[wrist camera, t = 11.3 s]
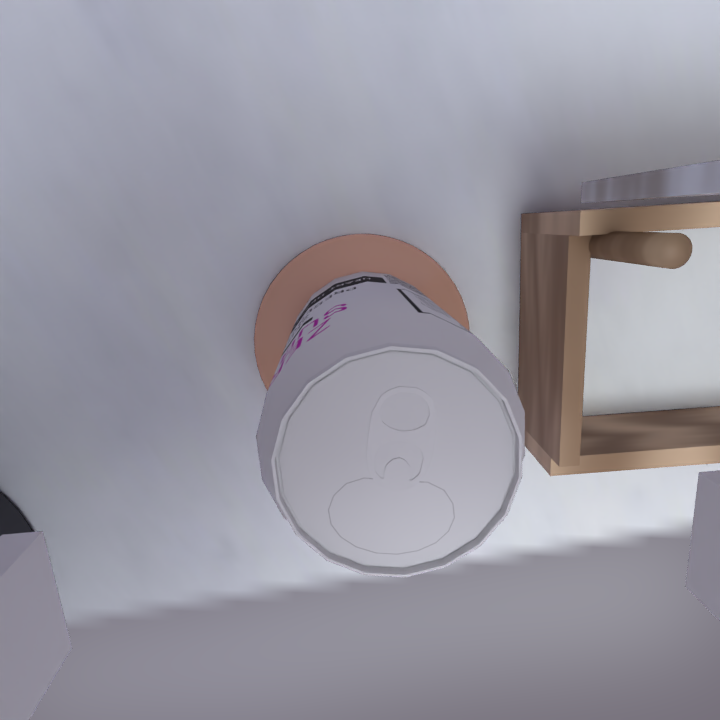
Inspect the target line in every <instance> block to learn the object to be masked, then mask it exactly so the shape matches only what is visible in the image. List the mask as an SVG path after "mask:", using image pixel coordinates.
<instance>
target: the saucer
mask: <svg viewBox="0 0 720 720" xmlns="http://www.w3.org/2000/svg"><path fill="white" fill-rule="evenodd" d="M362 271H363V272H373V273H384V274H390V275H392V276H394V277H396V278H398V279H400V280H402V281H405V282H407V283H409V284H411V285H413V286H414V287H415V288H417V289H418V290H419V291H420V292H422V293H423V294H424V295H425V296H427V297H428V298H429V299H430V300H432V301H433V302H434V303H435V304H436V305H438V306H439V307H440V308H441V309H443V310H444V311H445V312H446V313H448V314H449V315H450V316H451V317H453V318H454V319H455V320H456V321H457V322H459V323H460V324H461V325H462V326H464V327H465V328H466V329H467V330H469V322H468V317H467V312H466V309H465V306H464V303H463V300H462V297H461V295H460V293H459V292H458V290H457V288H456V286H455V284H454V283H453V281H452V280H451V278H450V277H449V276H448V274H447V273H446V272H445V271H444V270H443V269H442V268H441V266H440V265H439V264H438V263H437V262H435V261H434V260H433V259H432V258H431V257H429V256H428V255H427V254H426V253H424V252H422V251H421V250H419V249H417V248H416V247H414V246H412V245H410V244H407V243H405V242H403V241H400V240H397V239H393V238H390V237H386V236H381V235H374V234H352V235H344V236H339V237H335V238H332V239H328V240H325V241H323V242H321V243H318V244H316V245H314V246H312V247H310V248H309V249H307V250H305V251H304V252H302V253H300V254H299V255H298V256H297V257H295V258H294V259H293V260H292V261H290V262H289V263H288V264H287V265H286V266H285V267H284V268H283V269H282V270H281V272H280V273H279V274H278V275H277V276H276V278H275V279H274V281H273V282H272V283H271V285H270V286H269V288H268V290H267V292H266V294H265V296H264V298H263V300H262V303H261V306H260V308H259V311H258V315H257V320H256V324H255V335H254V345H255V356H256V361H257V366H258V369H259V372H260V375H261V378H262V381H263V383H264V385H265V387H266V389H267V391H268V389H269V386H270V384H271V381H272V379H273V376H274V374H275V371H276V369H277V366H278V364H279V361H280V359H281V356H282V354H283V351H284V349H285V346H286V344H287V341H288V339H289V336H290V334H291V331H292V329H293V326H294V324H295V321H296V319H297V317H298V315H299V313H300V312H301V311H302V309H303V308H304V306H305V305H306V303H307V302H308V300H309V299H310V298H311V296H312V295H313V294H314V293H315V292H317V291H318V290H319V289H321V288H322V287H324V286H325V285H327V284H328V283H329V282H331V281H332V280H334V279H335V278H339V277H343V276H346V275H350V274H354V273H358V272H362Z"/></svg>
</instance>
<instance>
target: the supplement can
mask: <svg viewBox="0 0 720 720" xmlns="http://www.w3.org/2000/svg"><path fill="white" fill-rule="evenodd" d="M256 439H257V446H258V453H259V460H260V467H261V474H262V480H263V482H264V484H265V485H266V487H267V489H268V491H269V492H270V494H271V496H272V498H273V500H274V501H275V503H276V505H277V507H278V508H279V510H280V512H281V514H282V516H283V517H284V518H285V519H286V520H287V521H288V522H289V523H290V525H291V527H292V529H293V531H294V532H295V534H296V535H297V536H298V537H299V538H300V539H301V540H303V541H304V542H305V543H306V544H307V545H309V546H310V547H311V548H312V549H313V550H314V551H316V552H317V553H318V554H319V555H320V556H322V557H323V558H324V559H325V560H326V561H329V562H331V563H334V564H337V565H339V566H342V567H345V568H347V569H350V570H352V571H355V572H358V573H360V574H363V575H371V576H390V577H409V576H413V575H417V574H421V573H425V572H429V571H433V570H437V569H441V568H445V567H447V566H449V565H450V564H452V563H454V562H455V561H457V560H459V559H460V558H462V557H463V556H465V555H467V554H468V553H470V552H472V551H473V550H475V549H477V548H478V547H480V546H481V545H482V544H483V543H484V542H485V541H486V539H487V538H488V537H489V536H490V535H491V534H492V532H493V531H494V530H495V529H496V528H497V527H498V525H499V524H500V523H501V522H502V521H503V520H504V518H505V517H506V516H507V515H508V512H509V510H510V507H511V505H512V502H513V500H514V497H515V494H516V492H517V489H518V487H519V484H520V482H521V479H522V461H523V458H524V456H525V411H524V409H523V406H522V404H521V401H520V398H519V396H518V393H517V391H516V388H515V386H514V383H513V381H512V378H511V375H510V373H509V371H508V370H507V369H506V368H505V366H504V365H503V364H502V363H501V362H500V361H499V360H498V359H497V358H496V357H495V356H494V355H493V354H492V353H491V352H490V351H489V349H488V348H487V347H486V346H485V345H484V344H483V343H482V342H481V341H480V340H479V339H478V338H477V337H476V336H475V335H474V334H472V333H471V332H470V331H469V330H467V329H466V328H465V327H464V326H462V325H461V324H460V323H459V322H457V321H456V320H455V319H454V318H453V317H451V316H450V315H449V314H448V313H446V312H445V311H444V310H443V309H441V308H440V307H439V306H438V305H436V304H435V303H434V302H433V301H432V300H430V299H429V298H428V297H427V296H425V295H424V294H423V293H422V292H420V291H419V290H418V289H417V288H415V287H414V286H413V285H411V284H409V283H407V282H405V281H402V280H400V279H398V278H396V277H394V276H392V275H390V274H384V273H373V272H363V271H362V272H358V273H354V274H350V275H346V276H343V277H339V278H335V279H334V280H332V281H331V282H329V283H328V284H327V285H325V286H324V287H322V288H321V289H319V290H318V291H317V292H315V293H314V294H313V295H312V296H311V298H310V299H309V300H308V302H307V303H306V305H305V306H304V308H303V309H302V311H301V312H300V313H299V315H298V317H297V319H296V321H295V324H294V326H293V329H292V331H291V334H290V336H289V339H288V341H287V344H286V346H285V349H284V351H283V354H282V356H281V359H280V361H279V364H278V366H277V369H276V371H275V374H274V376H273V379H272V381H271V384H270V386H269V389H268V391H267V394H266V398H265V402H264V407H263V411H262V415H261V419H260V423H259V427H258V431H257V435H256Z"/></svg>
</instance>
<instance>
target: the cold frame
mask: <svg viewBox="0 0 720 720" xmlns="http://www.w3.org/2000/svg"><path fill="white" fill-rule="evenodd" d="M718 194H720V160H717V161H711V162H705V163H699V164H693V165H686V166H680V167H674V168H668V169H662V170H656V171H650V172H644V173H637V174H631V175H625V176H619V177H613V178H607V179H601V180H595V181H588V182H582V192H581V203H593V202H608V201H624V200H640V199H656V198H671V197H687V196H703V195H718ZM710 227H720V201H712V202H697V203H681V204H666V205H650V206H634V207H619V208H603V209H588V210H572V211H556V212H541V213H525V214H522V219H521V272H520V326H519V380H518V396H519V398H520V401H521V404H522V406H523V409H524V411H525V446H526V448H527V449H528V450H529V451H530V452H531V454H532V455H533V456H534V457H535V458H536V459H537V461H538V462H539V463H540V464H541V465H542V467H543V468H544V469H545V470H546V471H547V473H548V474H549V475H550V476H556V475H569V474H582V473H595V472H608V471H621V470H634V469H647V468H660V467H673V466H686V465H699V464H712V463H720V406H717V407H704V408H691V409H677V410H664V411H650V412H637V413H623V414H610V415H596V416H583V417H582V409H583V390H584V371H585V352H586V333H587V315H588V296H589V277H590V258H596V259H604V260H611V261H618V262H625V263H632V264H640V265H647V266H654V267H661V268H669V269H676V268H679V267H681V266H683V265H684V264H685V263H686V262H687V261H688V260H689V258H690V256H691V253H692V243H691V241H690V239H689V238H688V237H687V236H686V235H684V234H681V233H659V232H649V231H664V230H679V229H694V228H710Z"/></svg>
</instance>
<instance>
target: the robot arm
mask: <svg viewBox="0 0 720 720" xmlns="http://www.w3.org/2000/svg"><path fill="white" fill-rule="evenodd" d="M685 587H686V588H687V589H688V590H689V591H690V592H691V593H692V594H693V595H694V596H695V597H696V598H697V599H698V600H699V601H700V602H701V603H702V604H703V605H704V606H705V607H706V608H707V609H708V610H709V611H710V612H711V613H712V614H713V615H714V616H715V617H716V618H717V619H718V620H719V621H720V470H719V471H708V472H699V476H698V484H697V492H696V501H695V509H694V517H693V526H692V534H691V543H690V551H689V559H688V567H687V577H686V585H685ZM71 649H72V645H71V641H70V637H69V633H68V629H67V625H66V621H65V617H64V613H63V609H62V605H61V601H60V597H59V593H58V590H57V586H56V582H55V578H54V574H53V570H52V566H51V562H50V558H49V554H48V550H47V546H46V542H45V538H44V534H43V531H38V532H32V530H31V529H30V527H29V525H28V524H27V522H26V521H25V519H24V518H23V516H22V515H21V514H20V513H19V511H18V510H17V509H16V508H15V507H14V506H13V505H12V504H11V503H10V502H9V501H8V500H7V499H6V498H5V497H4V496H3V495H2V494H1V493H0V720H30V718H31V716H32V715H33V713H34V711H35V710H36V708H37V706H38V705H39V703H40V701H41V700H42V698H43V696H44V695H45V693H46V691H47V690H48V688H49V686H50V684H51V683H52V681H53V679H54V678H55V676H56V674H57V673H58V671H59V669H60V668H61V666H62V664H63V663H64V661H65V659H66V657H67V655H68V654H69V652H70V651H71Z"/></svg>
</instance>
